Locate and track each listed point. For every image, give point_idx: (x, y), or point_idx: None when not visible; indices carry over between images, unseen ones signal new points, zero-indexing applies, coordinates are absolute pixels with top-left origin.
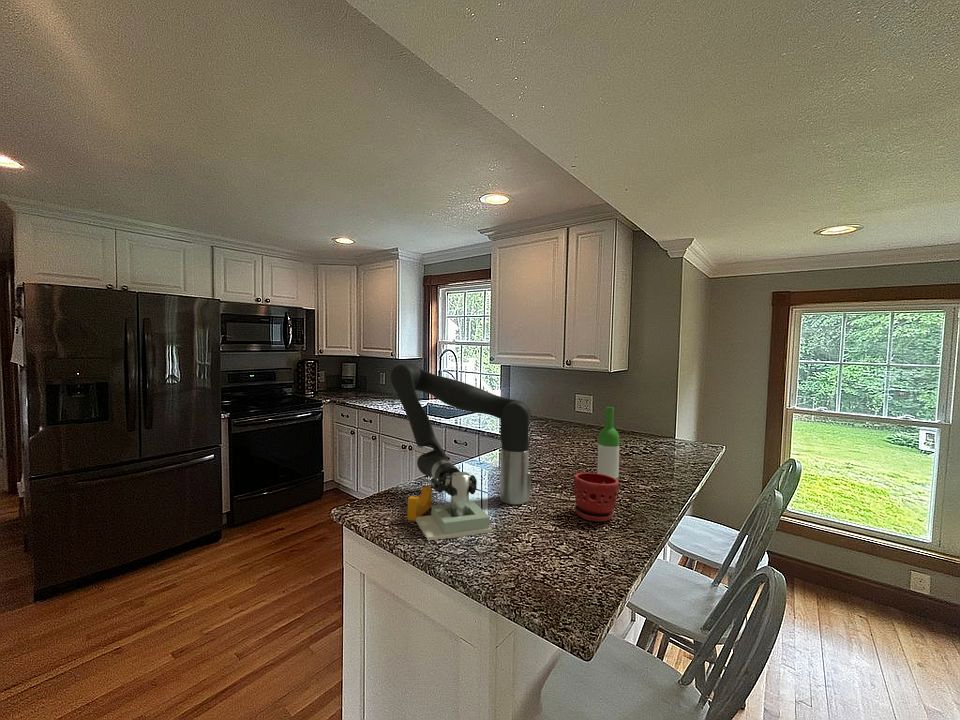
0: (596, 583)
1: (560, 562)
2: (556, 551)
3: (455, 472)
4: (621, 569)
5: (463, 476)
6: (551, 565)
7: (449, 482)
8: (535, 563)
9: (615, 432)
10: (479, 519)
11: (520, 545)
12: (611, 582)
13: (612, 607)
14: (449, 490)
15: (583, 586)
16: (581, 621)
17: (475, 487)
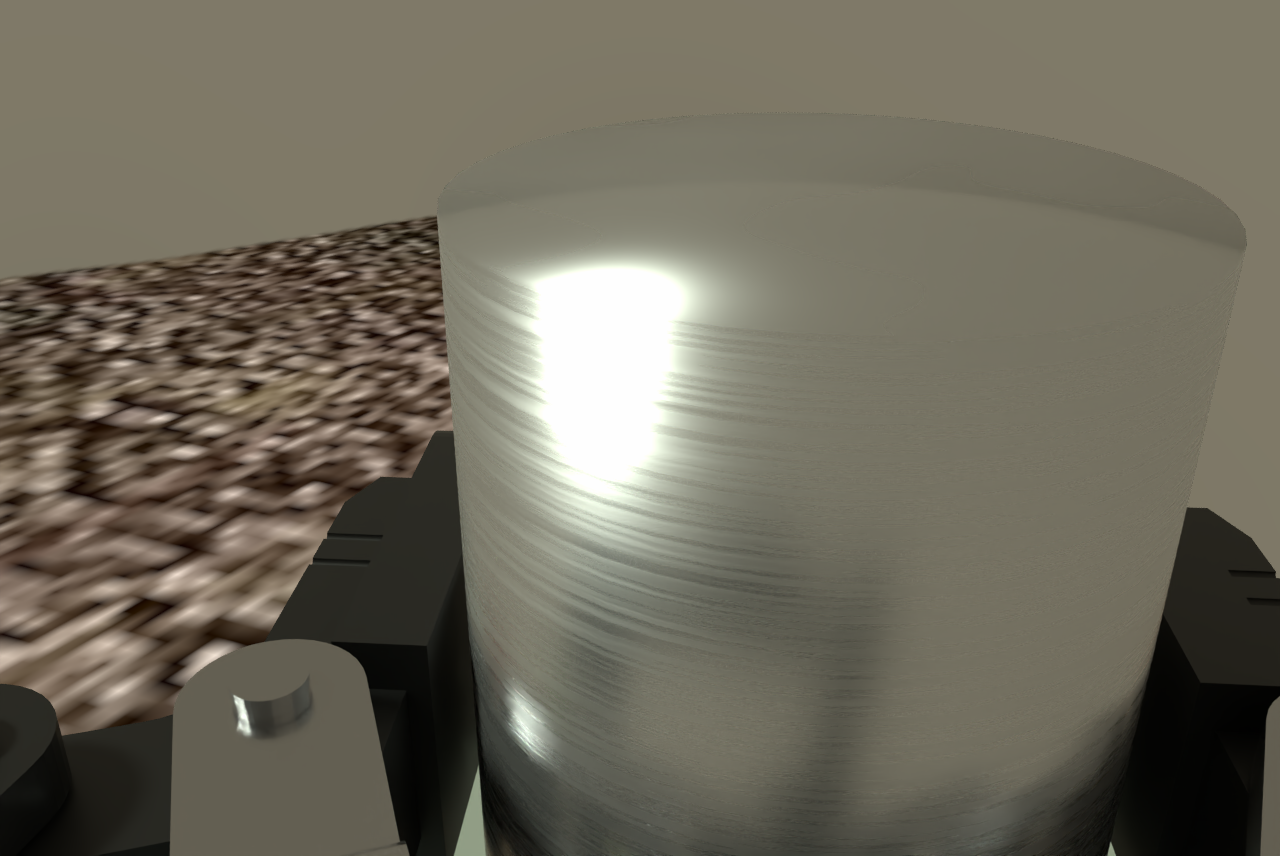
0: (273, 284)
1: (241, 392)
2: (108, 463)
3: (1037, 317)
4: (10, 304)
5: (797, 122)
6: (330, 388)
7: (1269, 853)
8: (409, 418)
9: None
10: None
11: (285, 583)
12: (198, 275)
13: (383, 226)
14: (1211, 533)
15: (356, 285)
16: None
17: (381, 480)
